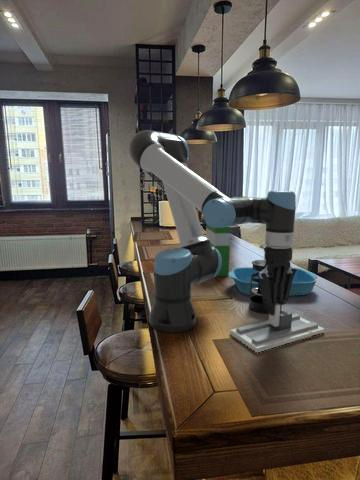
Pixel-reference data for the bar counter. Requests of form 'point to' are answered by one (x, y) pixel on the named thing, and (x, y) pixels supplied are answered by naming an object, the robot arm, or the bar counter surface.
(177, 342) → the bar counter surface
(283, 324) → the fader tab
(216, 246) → the hardback book
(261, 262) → the french press
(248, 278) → the casserole dish
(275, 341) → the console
